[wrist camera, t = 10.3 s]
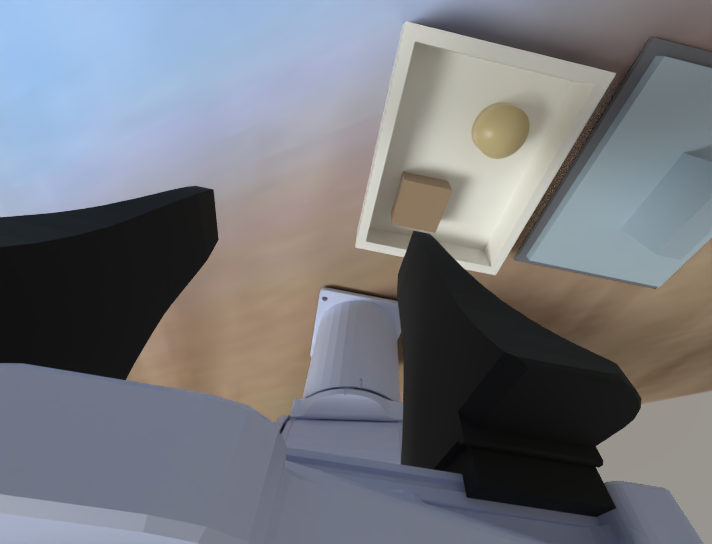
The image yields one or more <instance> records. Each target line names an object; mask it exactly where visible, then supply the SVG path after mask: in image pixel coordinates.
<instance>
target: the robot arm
mask: <svg viewBox="0 0 712 544" xmlns="http://www.w3.org/2000/svg"><path fill="white" fill-rule="evenodd" d="M217 241H218V230H217V220H216V211H215V201H214V191H213V189H208V188H203V187H198V186H190V187H184V188H179V189H174V190H169V191H165V192H161V193H157V194H153V195H149V196H144V197H140V198H136V199H131V200H127V201H122V202H117V203H112V204H108V205H103V206H97V207H92V208H86V209H79V210H72V211H65V212H57V213H48V214H36V215H25V216H13V217H0V544H704V543H703V542H702V540H701V539H700V537H699V536H698V534H697V533H696V531H695V529H694V528H693V526H692V525H691V523H690V522H689V520H688V519H687V517H686V516H685V514H684V513H683V511H682V510H681V508H680V507H679V505H678V504H677V502H676V500H675V499H674V497H673V496H672V495H671V493H670V491H668V490H667V489H665V488H662V487H655V486H649V485H643V484H637V483H630V482H623V481H612V482H605V483H603V481H602V479H601V477H600V475H599V473H598V471H597V469H596V467H600V466H602V465H603V459H602V458H601V456H600V454H599V452H598V450H597V448H596V445H598V444H600V443H601V442H603V441H604V440H606V439H607V438H609V437H610V436H612V435H613V434H615V433H616V432H618V431H619V430H621V429H623V428H624V427H625V426H626V425H628V424H629V423H630V422H631V421H632V420H634V418H635V417H636V415H637V413H638V412H639V410H640V408H641V397H640V396H639V394H638V392H637V391H636V389H635V388H634V387H633V385H632V384H631V383H630V381H629V380H628V378H627V377H626V376H625V374H624V373H623V372H622V370H621V369H620V368H619V366H618V365H617V364H616V363H614V362H612V361H610V360H608V359H606V358H603V357H601V356H599V355H597V354H595V353H593V352H591V351H589V350H587V349H584V348H582V347H580V346H578V345H576V344H574V343H572V342H570V341H568V340H566V339H564V338H562V337H560V336H559V335H557V334H555V333H553V332H551V331H549V330H548V329H546V328H544V327H542V326H541V325H539V324H537V323H535V322H534V321H532V320H530V319H529V318H527V317H526V316H524V315H523V314H521V313H520V312H518V311H516V310H515V309H513V308H512V307H510V306H509V305H508V304H506V303H505V302H503V301H502V300H500V299H499V298H498V297H497V296H495V295H494V294H493V293H491V292H490V291H489V290H488V289H486V288H485V287H484V286H483V285H481V284H480V283H479V282H478V281H477V280H476V279H475V278H474V277H472V276H471V275H470V274H469V273H468V272H467V271H466V270H465V269H464V268H463V267H462V266H461V265H460V264H459V263H458V262H457V261H456V260H455V259H454V258H453V257H452V256H451V255H450V254H449V253H448V252H447V251H446V250H445V248H444V247H443V246H442V245H441V244H440V243H439V242H438V241H437V240H436V239H435V238H434V237H433V236H432V235H431V234H428V233H423V232H418V231H413V233H412V236H411V239H410V242H409V245H408V247H407V250H406V253H405V256H404V259H403V262H402V265H401V267H400V270H399V273H398V287H397V298H398V301H395V300H389V299H384V298H379V297H374V296H368V295H363V294H358V293H352V292H347V291H342V290H337V289H331V288H322V289H321V291H320V296H319V302H318V309H317V315H316V321H315V328H314V334H313V340H312V347H311V353H310V356H311V357H312V359H311V363H310V368H309V372H308V376H307V381H306V385H305V390H304V394H303V399H296V400H294V403H293V407H292V411H291V415H283V416H280V417H279V418H278V419H277V420H276V422H275V423H274V422H273V421H271V420H270V419H268V418H267V417H265V416H264V415H262V414H260V413H259V412H257V411H256V410H254V409H253V408H251V407H250V406H248V405H245V404H242V403H238V402H235V401H232V400H228V399H225V398H222V397H218V396H215V395H212V394H206V393H200V392H194V391H188V390H182V389H176V388H170V387H163V386H157V385H151V384H145V383H139V382H133V381H127V380H126V378H127V376H128V374H129V373H130V371H131V369H132V367H133V365H134V363H135V362H136V360H137V358H138V356H139V355H140V353H141V351H142V350H143V348H144V346H145V344H146V343H147V341H148V339H149V338H150V336H151V334H152V333H153V331H154V330H155V328H156V326H157V325H158V323H159V322H160V320H161V318H162V317H163V315H164V314H165V312H166V311H167V310H168V308H169V307H170V306H171V304H172V303H173V302H174V301H175V299H176V298H177V297H178V296H179V294H180V293H181V292H182V291H183V290H184V288H185V287H186V286H187V285H188V283H189V282H190V281H191V280H192V278H193V277H194V276H195V275H196V274H197V272H198V271H199V270H200V268H201V267H202V266H203V265H204V263H205V262H206V261H207V259H208V258H209V256H210V254H211V252H212V251H213V249H214V247H215V245H216V243H217ZM324 297H327V298H324ZM400 334H402V343H403V355H404V393H403V402H401V401H400V383H399V365H398V347H397V341H398V338H399V336H400Z"/></svg>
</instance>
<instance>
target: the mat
mask: <svg viewBox="0 0 712 544" xmlns="http://www.w3.org/2000/svg"><path fill="white" fill-rule="evenodd" d="M655 56H666V57H670V58H674V59H678V60H682V61H685V62H689V63H693V64H697V65H701V66H705V67H709V68H712V52H709V51H705V50H701V49H697V48H693V47H689V46H686V45H682V44H678V43H674V42H670V41H666V40H662V39H658V38H649V40H648V42H647V43H646V45H645V47H644V48H643V50H642V51H641V53H640V55H639V56H638V58H637V60H636V61H635V63H634V64H633V66H632V68H631V69H630V71H629V72H628V74H627V76H626V77H625V79H624V81H623V82H622V84H621V85H620V87H619V89H618V90H617V92H616V94H615V95H614V97H613V98H612V100H611V102H610V103H609V105H608V106H607V108H606V110H605V111H604V113H603V115H602V116H601V118H600V119H599V121H598V123H597V124H596V126H595V127H594V129H593V131H592V132H591V134H590V136H589V137H588V139H587V140H586V142H585V144H584V145H583V147H582V149H581V150H580V152H579V153H578V155H577V157H576V158H575V160H574V161H573V163H572V165H571V166H570V168H569V170H568V171H567V173H566V174H565V176H564V178H563V179H562V181H561V183H560V184H559V186H558V187H557V189H556V191H555V192H554V194H553V195H552V197H551V199H550V200H549V202H548V204H547V205H546V207H545V208H544V210H543V212H542V213H541V215H540V217H539V218H538V220H537V221H536V223H535V225H534V226H533V228H532V229H531V231H530V233H529V234H528V236H527V238H526V239H525V241H524V242H523V244H522V246H521V247H520V249H519V251H518V252H517V254H516V255H515V257H514V260H515V261H520V262H525V263H530V264H535V265H540V266H545V267H550V268H554V269H559V270H564V271H569V272H574V273H579V274H584V275H589V276H594V277H599V278H604V279H609V280H614V281H619V282H624V283H628V284H633V285H638V286H643V287H648V288H653V289H656V288H657V287H656V286H651V285H646V284H642V283H637V282H632V281H627V280H622V279H617V278H612V277H608V276H603V275H598V274H593V273H588V272H583V271H578V270H574V269H569V268H564V267H559V266H554V265H549V264H544V263H540V262H535V261H530V260H529V259H528V258H527V256H526V255H527V254H528V252H529V251H530V249H531V248H532V246H533V245H534V243H535V241H536V240H537V238H538V237H539V235H540V234H541V232H542V231H543V229H544V228H545V226H546V225H547V223H548V221H549V220H550V218H551V217H552V215H553V214H554V212H555V211H556V209H557V208H558V206H559V204H560V203H561V201H562V200H563V198H564V197H565V195H566V194H567V192H568V191H569V189H570V187H571V186H572V184H573V183H574V181H575V180H576V178H577V177H578V175H579V174H580V172H581V171H582V169H583V167H584V166H585V164H586V163H587V161H588V160H589V158H590V157H591V155H592V154H593V152H594V150H595V149H596V147H597V146H598V144H599V143H600V141H601V140H602V138H603V137H604V135H605V133H606V132H607V130H608V129H609V127H610V126H611V124H612V123H613V121H614V120H615V118H616V116H617V115H618V113H619V112H620V110H621V109H622V107H623V106H624V104H625V103H626V101H627V100H628V98H629V96H630V95H631V93H632V92H633V90H634V89H635V87H636V86H637V84H638V83H639V81H640V79H641V78H642V76H643V75H644V73H645V72H646V70H647V69H648V67H649V66H650V64H651V62H652V61H653V59H654V58H655Z"/></svg>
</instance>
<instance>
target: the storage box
mask: <svg viewBox="0 0 712 544" xmlns="http://www.w3.org/2000/svg"><path fill="white" fill-rule="evenodd" d="M615 75H616V73H613V72H609V71H605V70H601V69H597V68H593V67H589V66H585V65H581V64H577V63H573V62H569V61H565V60H561V59H557V58H553V57H549V56H545V55H541V54H537V53H533V52H528V51H524V50H520V49H516V48H512V47H508V46H504V45H500V44H496V43H492V42H488V41H484V40H480V39H476V38H472V37H468V36H464V35H460V34H456V33H452V32H448V31H443V30H439V29H435V28H431V27H427V26H423V25H419V24H415V23H411V22H407V21H406V22H405V23H404V24H403V25H402V30H401V34H400V39H399V43H398V48H397V52H396V57H395V61H394V66H393V70H392V75H391V80H390V84H389V89H388V93H387V98H386V102H385V107H384V111H383V116H382V120H381V125H380V130H379V134H378V139H377V143H376V148H375V152H374V157H373V161H372V166H371V170H370V175H369V180H368V184H367V189H366V193H365V198H364V202H363V207H362V211H361V216H360V220H359V225H358V230H357V238H356V245H355V247H356V248H361V249H366V250H371V251H376V252H381V253H386V254H391V255H396V256H401V257H404V256H405V253H406V250H407V247H408V245H409V242H410V239H411V236H412V233H413V231H418V232H423V233H428V234H431V235H432V236H433V237H434V238H435V239H436V240H437V241H438V242H439V243H440V244H441V245H442V246H443V247H444V248H445V250H446V251H447V252H448V253H449V254H450V255H451V256H452V257H453V258H454V259H455V260H456V261H457V262H458V263H459V264H460V265H461V266H462V267H463V268H464V269H466V270H471V271H477V272H482V273H487V274H492V275H496V274H497V272H498V270H499V269H500V267H501V265H502V264H503V262H504V260H505V259H506V257H507V255H508V254H509V252H510V250H511V249H512V247H513V245H514V244H515V242H516V240H517V239H518V237H519V235H520V234H521V232H522V230H523V229H524V227H525V225H526V224H527V222H528V220H529V219H530V217H531V215H532V214H533V212H534V210H535V209H536V207H537V205H538V204H539V202H540V200H541V199H542V197H543V195H544V194H545V192H546V190H547V189H548V187H549V185H550V184H551V182H552V180H553V178H554V177H555V175H556V173H557V172H558V170H559V168H560V167H561V165H562V163H563V162H564V160H565V158H566V157H567V155H568V153H569V152H570V150H571V148H572V147H573V145H574V143H575V142H576V140H577V138H578V137H579V135H580V133H581V132H582V130H583V128H584V127H585V125H586V123H587V122H588V120H589V118H590V117H591V115H592V113H593V112H594V110H595V108H596V107H597V105H598V103H599V102H600V100H601V98H602V97H603V95H604V93H605V92H606V90H607V88H608V87H609V85H610V83H611V82H612V80H613V78H614V77H615Z"/></svg>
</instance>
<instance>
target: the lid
mask: <svg viewBox="0 0 712 544" xmlns="http://www.w3.org/2000/svg"><path fill="white" fill-rule="evenodd" d="M711 238H712V68H709V67H705V66H701V65H697V64H693V63H689V62H685V61H682V60H678V59H674V58H670V57H666V56H655V58H654V59H653V61H652V62H651V64H650V66H649V67H648V69H647V70H646V72H645V73H644V75H643V76H642V78H641V79H640V81H639V83H638V84H637V86H636V87H635V89H634V90H633V92H632V93H631V95H630V96H629V98H628V100H627V101H626V103H625V104H624V106H623V107H622V109H621V110H620V112H619V113H618V115H617V116H616V118H615V120H614V121H613V123H612V124H611V126H610V127H609V129H608V130H607V132H606V133H605V135H604V137H603V138H602V140H601V141H600V143H599V144H598V146H597V147H596V149H595V150H594V152H593V154H592V155H591V157H590V158H589V160H588V161H587V163H586V164H585V166H584V167H583V169H582V171H581V172H580V174H579V175H578V177H577V178H576V180H575V181H574V183H573V184H572V186H571V187H570V189H569V191H568V192H567V194H566V195H565V197H564V198H563V200H562V201H561V203H560V204H559V206H558V208H557V209H556V211H555V212H554V214H553V215H552V217H551V218H550V220H549V221H548V223H547V225H546V226H545V228H544V229H543V231H542V232H541V234H540V235H539V237H538V238H537V240H536V241H535V243H534V245H533V246H532V248H531V249H530V251H529V252H528V254H527V255H526V256H527V258H528V259H529V260H530V261H535V262H540V263H544V264H549V265H554V266H559V267H564V268H569V269H574V270H578V271H583V272H588V273H593V274H598V275H603V276H608V277H612V278H617V279H622V280H627V281H632V282H637V283H642V284H646V285H651V286H656V287H660V286H661V285H662V284H663V283H664V282H665V281H666V280H667V279H669V278H670V277H671V276H672V275H673V274H674V273H675V272H676V271H677V270H678V269H679V268H680V267H681V266H682V265H683V264H684V263H685V262H686V261H687V260H688V259H690V258H691V257H692V256H693V255H694V254H695V253H696V252H697V251H698V250H699V249H700V248H701V247H702V246H703V245H704V244H705V243H706V242H707V241H708V240H710V239H711Z"/></svg>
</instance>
